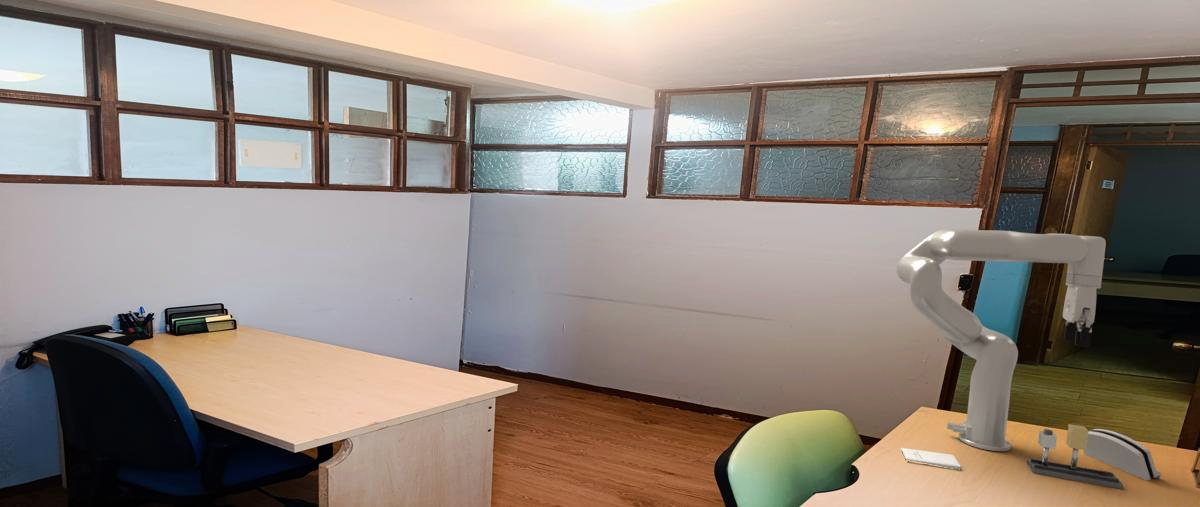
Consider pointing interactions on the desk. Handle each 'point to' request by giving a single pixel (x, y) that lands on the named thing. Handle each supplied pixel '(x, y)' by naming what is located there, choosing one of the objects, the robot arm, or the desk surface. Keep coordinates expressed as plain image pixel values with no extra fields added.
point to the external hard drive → (931, 458)
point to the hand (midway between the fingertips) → (1076, 343)
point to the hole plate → (1068, 466)
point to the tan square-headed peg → (1076, 441)
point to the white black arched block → (1121, 453)
